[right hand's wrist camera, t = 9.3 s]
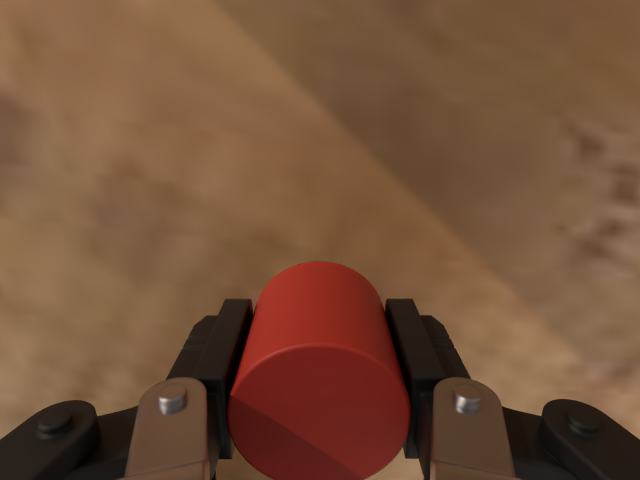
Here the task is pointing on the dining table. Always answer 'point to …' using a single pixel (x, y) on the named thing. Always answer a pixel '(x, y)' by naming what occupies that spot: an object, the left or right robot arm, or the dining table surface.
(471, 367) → the dining table surface
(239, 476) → the dining table surface
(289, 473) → the cylinder
